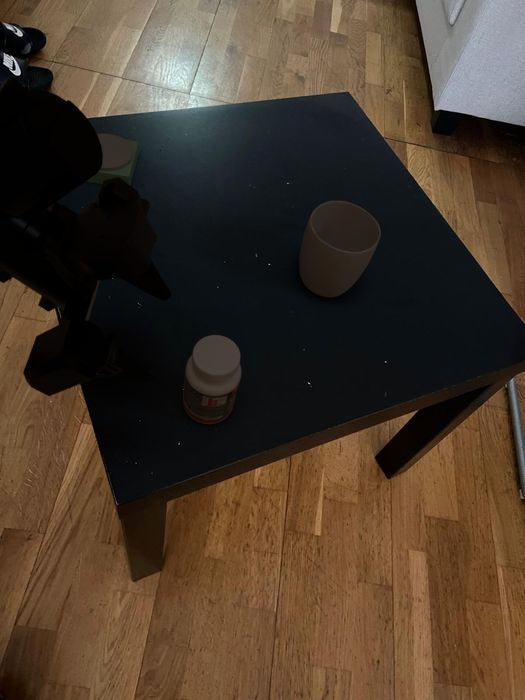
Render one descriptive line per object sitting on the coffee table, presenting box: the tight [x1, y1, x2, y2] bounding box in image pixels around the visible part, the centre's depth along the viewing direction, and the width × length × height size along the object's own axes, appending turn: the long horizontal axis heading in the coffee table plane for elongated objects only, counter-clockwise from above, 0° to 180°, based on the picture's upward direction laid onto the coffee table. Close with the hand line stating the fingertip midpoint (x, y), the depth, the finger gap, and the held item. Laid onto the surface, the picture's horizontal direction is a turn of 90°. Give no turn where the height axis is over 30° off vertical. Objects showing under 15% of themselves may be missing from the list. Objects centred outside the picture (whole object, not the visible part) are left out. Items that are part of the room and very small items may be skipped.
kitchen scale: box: [85, 133, 140, 186], centre depth 77 cm, size 8×8×3 cm
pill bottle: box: [182, 334, 242, 425], centre depth 56 cm, size 6×6×10 cm
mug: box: [298, 200, 381, 299], centre depth 70 cm, size 13×9×10 cm
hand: (160, 335), depth 50 cm, fingers open, 9 cm apart
